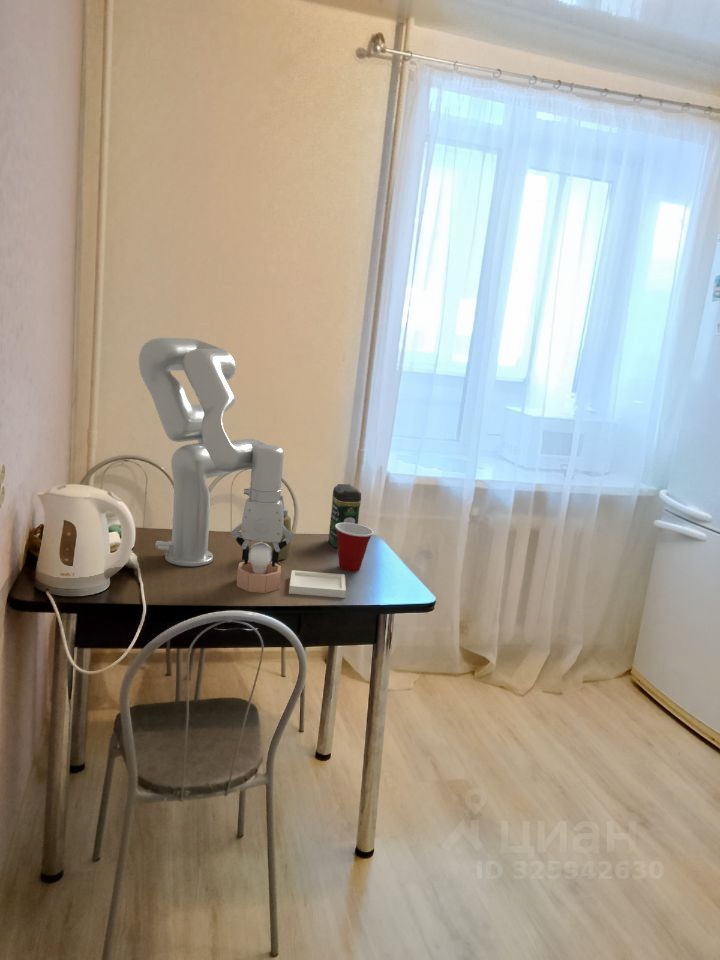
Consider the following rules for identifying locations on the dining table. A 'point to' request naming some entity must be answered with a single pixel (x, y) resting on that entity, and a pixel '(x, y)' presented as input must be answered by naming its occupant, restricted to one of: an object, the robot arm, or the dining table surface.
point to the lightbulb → (260, 557)
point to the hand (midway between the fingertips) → (259, 563)
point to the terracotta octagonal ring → (258, 578)
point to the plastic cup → (352, 545)
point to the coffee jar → (343, 508)
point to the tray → (317, 584)
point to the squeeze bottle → (287, 525)
